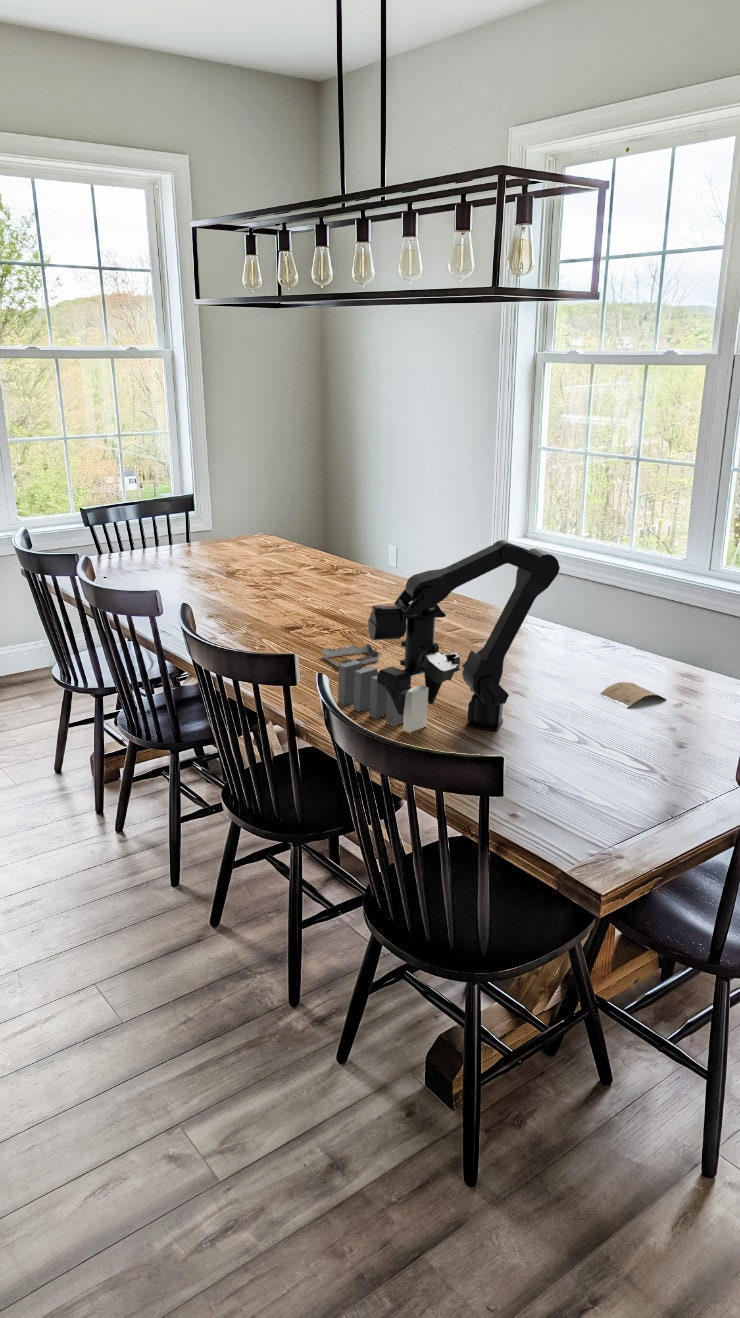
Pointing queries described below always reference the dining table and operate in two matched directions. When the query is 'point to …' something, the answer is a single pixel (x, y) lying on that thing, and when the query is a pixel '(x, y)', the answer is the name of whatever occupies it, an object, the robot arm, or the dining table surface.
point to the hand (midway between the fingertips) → (415, 709)
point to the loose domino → (415, 708)
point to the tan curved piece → (626, 692)
